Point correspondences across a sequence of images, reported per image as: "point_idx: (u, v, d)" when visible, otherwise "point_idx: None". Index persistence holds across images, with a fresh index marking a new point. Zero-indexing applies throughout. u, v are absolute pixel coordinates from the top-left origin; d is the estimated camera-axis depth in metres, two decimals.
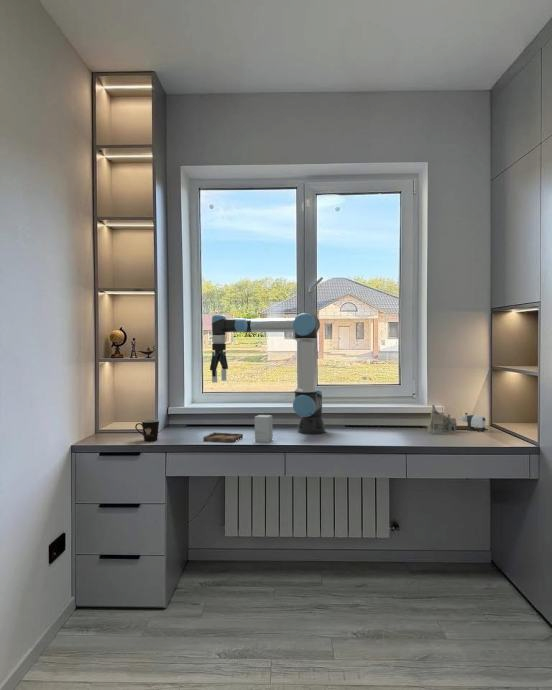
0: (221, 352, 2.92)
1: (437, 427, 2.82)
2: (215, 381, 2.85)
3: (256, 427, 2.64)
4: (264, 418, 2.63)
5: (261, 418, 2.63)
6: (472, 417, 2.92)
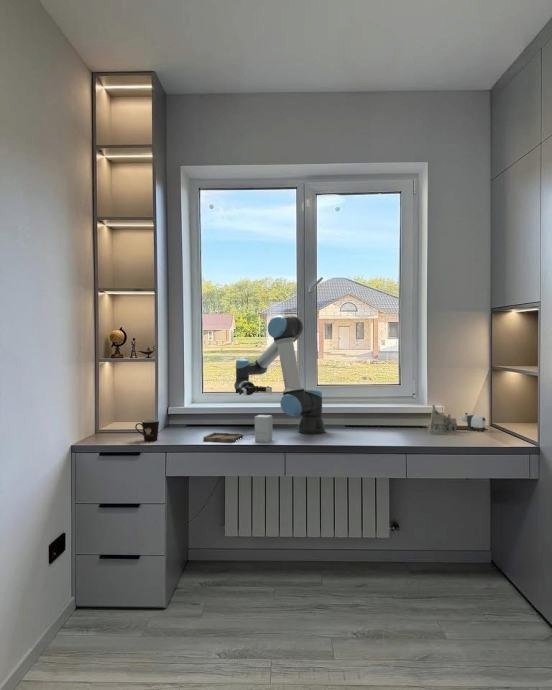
0: (251, 386, 2.93)
1: (437, 428, 2.82)
2: (244, 390, 2.76)
3: (256, 427, 2.64)
4: (264, 418, 2.63)
5: (261, 418, 2.63)
6: (472, 417, 2.92)
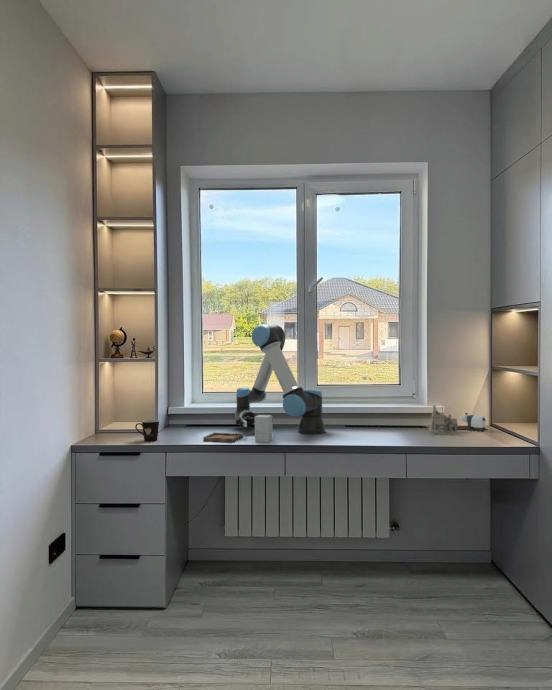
0: (251, 417, 2.88)
1: (438, 428, 2.81)
2: (245, 422, 2.71)
3: (256, 427, 2.64)
4: (264, 418, 2.63)
5: (261, 418, 2.63)
6: (472, 417, 2.92)
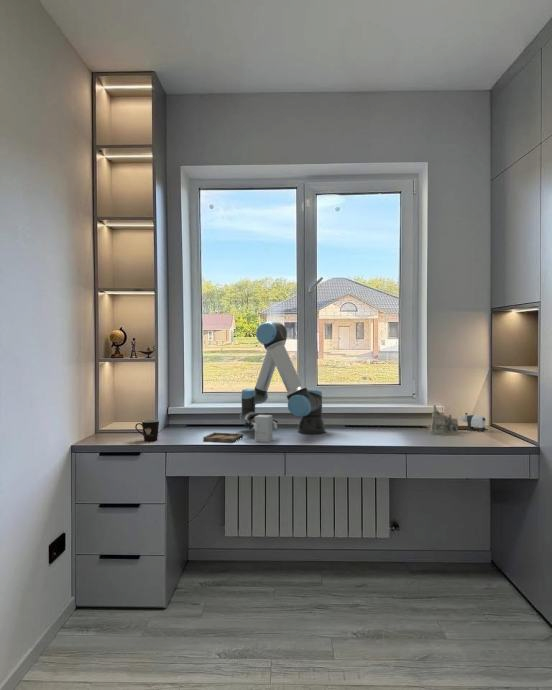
0: None
1: (439, 428, 2.81)
2: (255, 425, 2.61)
3: None
4: (264, 418, 2.63)
5: (261, 418, 2.63)
6: (472, 417, 2.92)
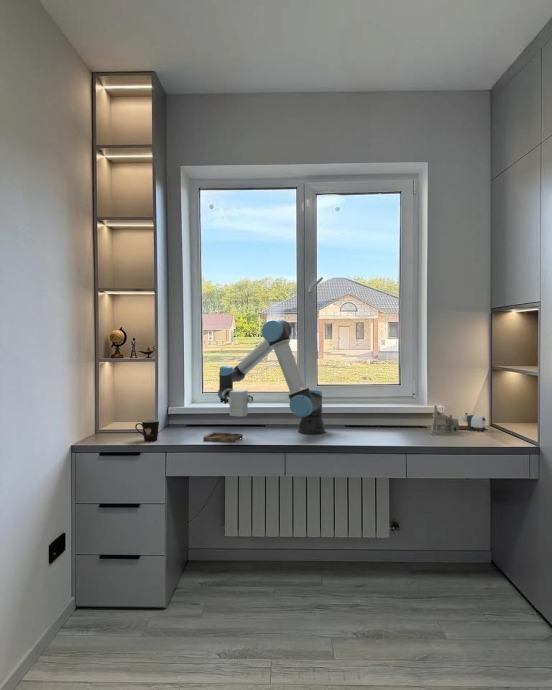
0: None
1: (440, 428, 2.80)
2: (229, 400, 2.64)
3: (231, 401, 2.67)
4: (239, 393, 2.65)
5: (236, 393, 2.66)
6: (472, 417, 2.92)
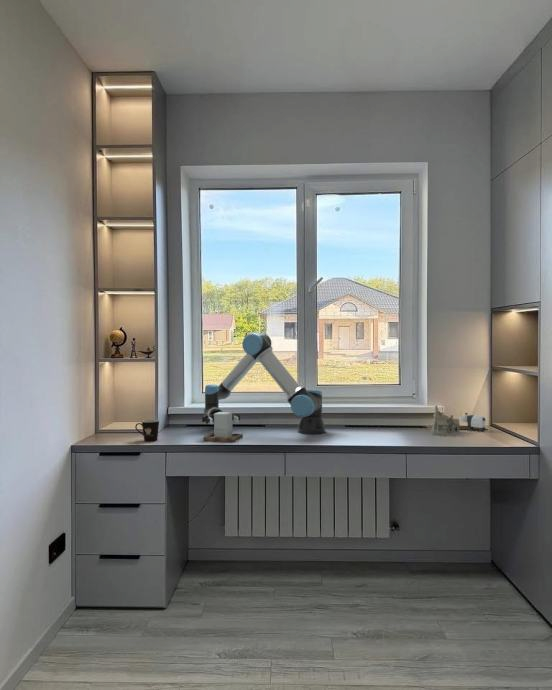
0: None
1: (441, 428, 2.79)
2: (210, 420, 2.65)
3: (215, 424, 2.68)
4: (223, 415, 2.67)
5: (220, 415, 2.67)
6: (472, 417, 2.92)
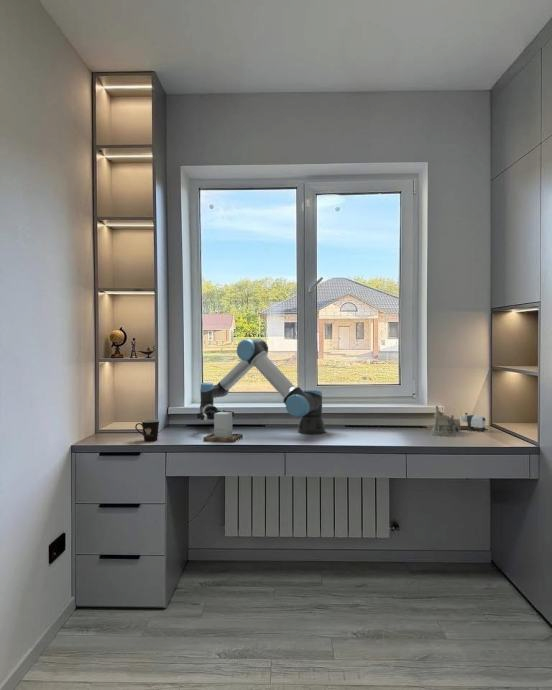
0: (213, 411, 2.95)
1: (442, 429, 2.79)
2: (205, 416, 2.78)
3: (215, 424, 2.68)
4: (223, 415, 2.67)
5: (220, 415, 2.67)
6: (472, 417, 2.92)
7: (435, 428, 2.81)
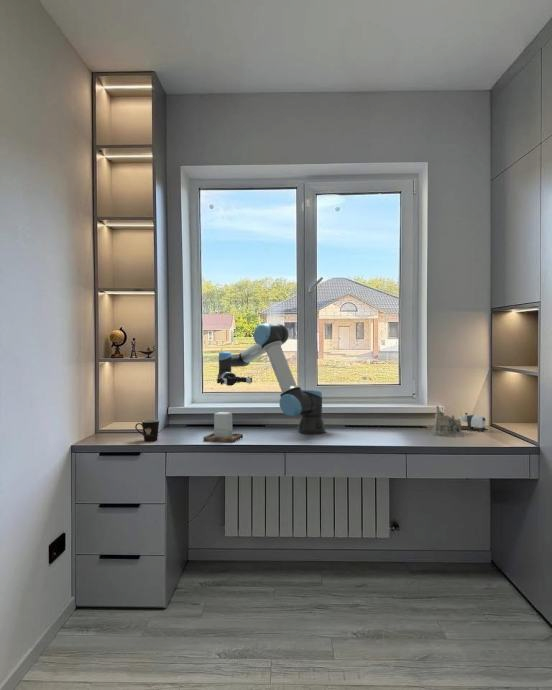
0: (232, 377, 3.05)
1: (443, 429, 2.78)
2: (225, 380, 2.88)
3: (215, 424, 2.68)
4: (223, 415, 2.67)
5: (220, 415, 2.67)
6: (472, 417, 2.92)
7: (436, 428, 2.80)
